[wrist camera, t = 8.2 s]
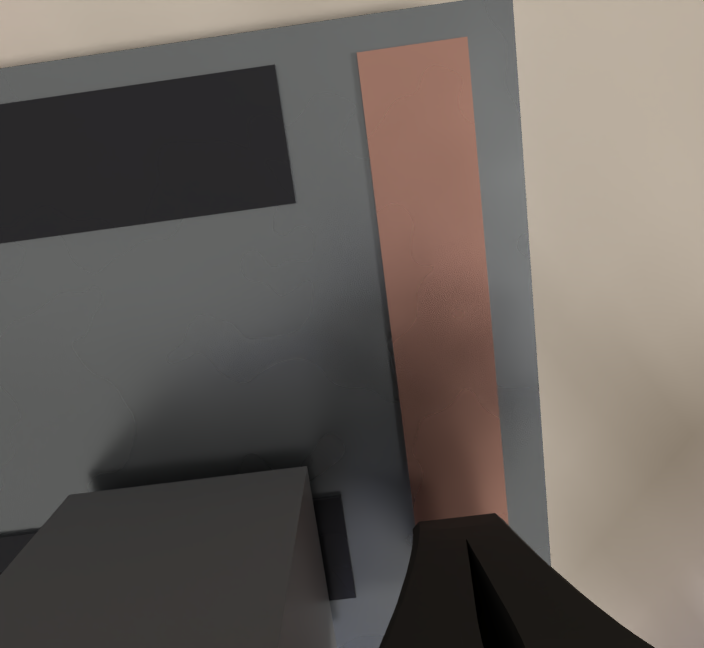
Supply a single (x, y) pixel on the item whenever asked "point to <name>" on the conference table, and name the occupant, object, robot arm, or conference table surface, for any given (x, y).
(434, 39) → the panel
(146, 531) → the breaker
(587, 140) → the conference table surface
